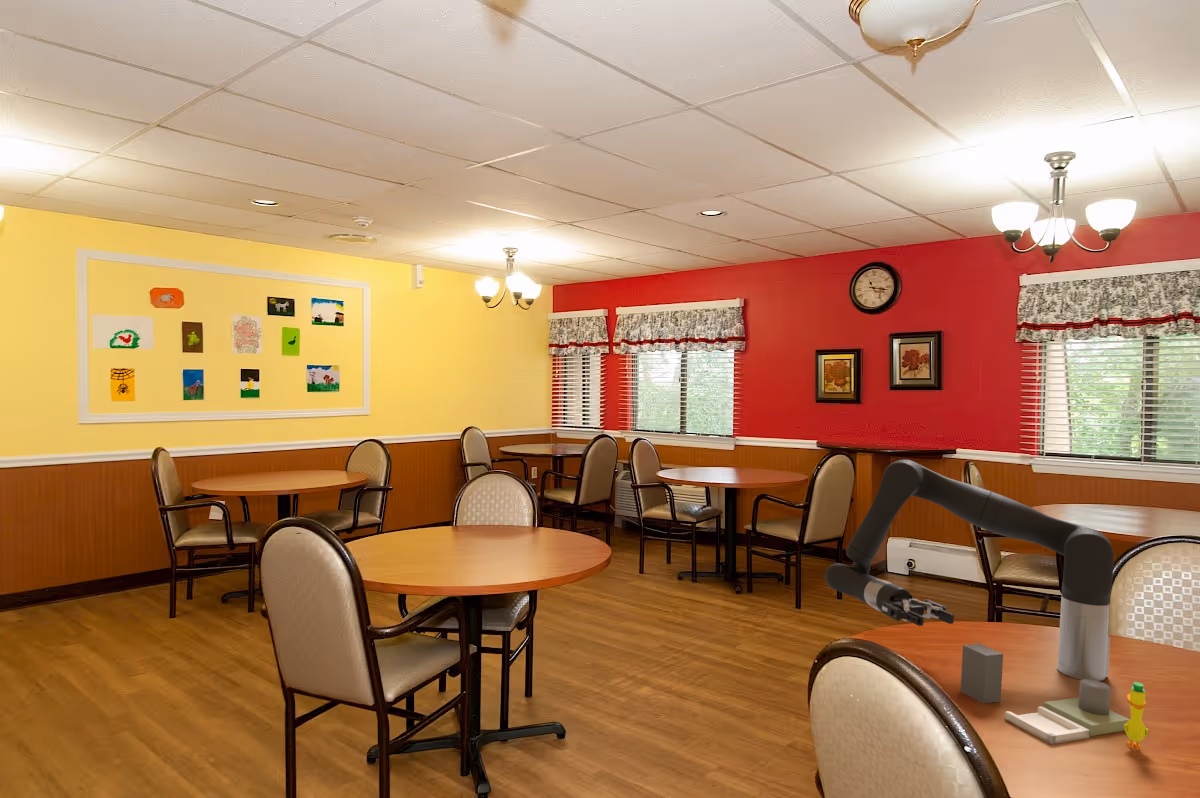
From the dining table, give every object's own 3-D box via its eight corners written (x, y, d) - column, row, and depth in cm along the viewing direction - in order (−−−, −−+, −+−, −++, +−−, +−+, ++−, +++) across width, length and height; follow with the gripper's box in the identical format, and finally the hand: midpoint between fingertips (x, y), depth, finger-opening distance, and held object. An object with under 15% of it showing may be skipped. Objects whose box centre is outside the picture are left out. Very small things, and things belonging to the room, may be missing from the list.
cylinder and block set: (1080, 706, 149) (1082, 673, 149) (1132, 730, 139) (1134, 694, 139) (1002, 717, 142) (1004, 682, 142) (1051, 744, 132) (1053, 706, 132)
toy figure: (1118, 736, 136) (1122, 673, 136) (1141, 741, 135) (1145, 677, 134) (1125, 751, 130) (1129, 686, 130) (1149, 757, 129) (1154, 691, 128)
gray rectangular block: (976, 689, 155) (979, 643, 155) (1000, 701, 150) (1003, 653, 149) (960, 691, 154) (963, 645, 154) (983, 703, 148) (986, 655, 148)
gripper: (864, 584, 176) (913, 605, 161) (912, 581, 181) (963, 602, 165) (862, 614, 176) (910, 639, 161) (909, 611, 181) (961, 635, 166)
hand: (937, 620), depth 163 cm, fingers open, 8 cm apart
